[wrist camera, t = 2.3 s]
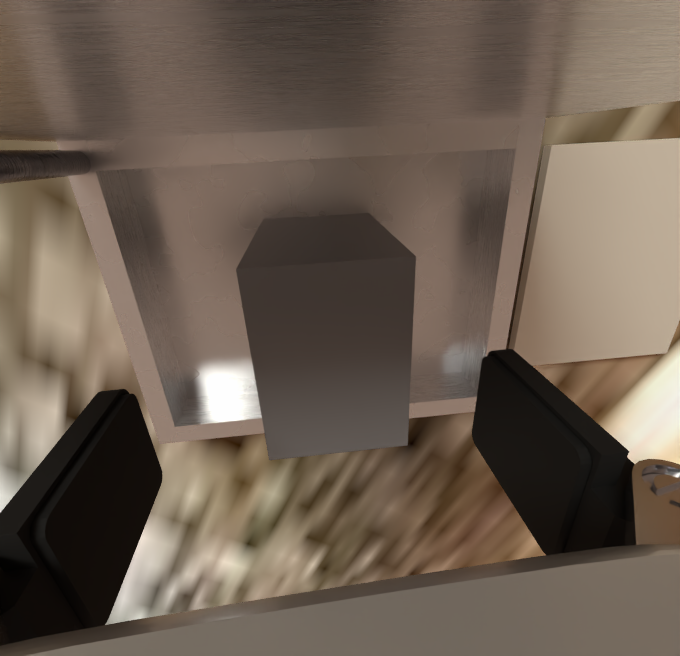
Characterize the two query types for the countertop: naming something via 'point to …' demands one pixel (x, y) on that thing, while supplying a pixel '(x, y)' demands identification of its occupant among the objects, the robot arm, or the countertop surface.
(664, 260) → the flat beige panel
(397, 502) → the countertop surface
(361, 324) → the block
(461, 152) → the case
